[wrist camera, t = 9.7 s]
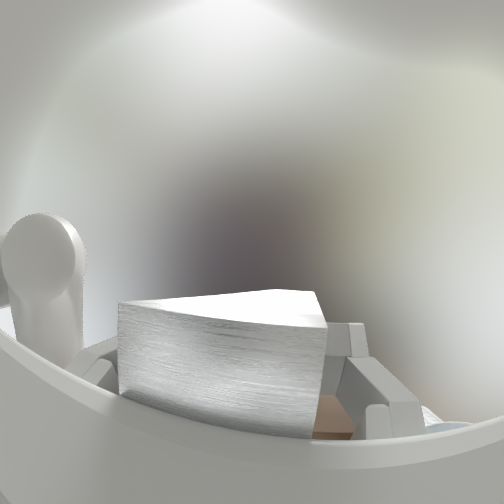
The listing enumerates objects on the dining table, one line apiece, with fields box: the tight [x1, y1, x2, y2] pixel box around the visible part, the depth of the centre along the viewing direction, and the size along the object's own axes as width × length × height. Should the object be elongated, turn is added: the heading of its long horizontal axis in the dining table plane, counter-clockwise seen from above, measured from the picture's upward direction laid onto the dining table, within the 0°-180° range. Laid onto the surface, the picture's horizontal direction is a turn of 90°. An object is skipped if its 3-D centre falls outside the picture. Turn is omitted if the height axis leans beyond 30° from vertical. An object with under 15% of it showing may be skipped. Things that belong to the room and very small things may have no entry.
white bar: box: [117, 289, 328, 439], centre depth 16 cm, size 4×24×3 cm, turn 168°
